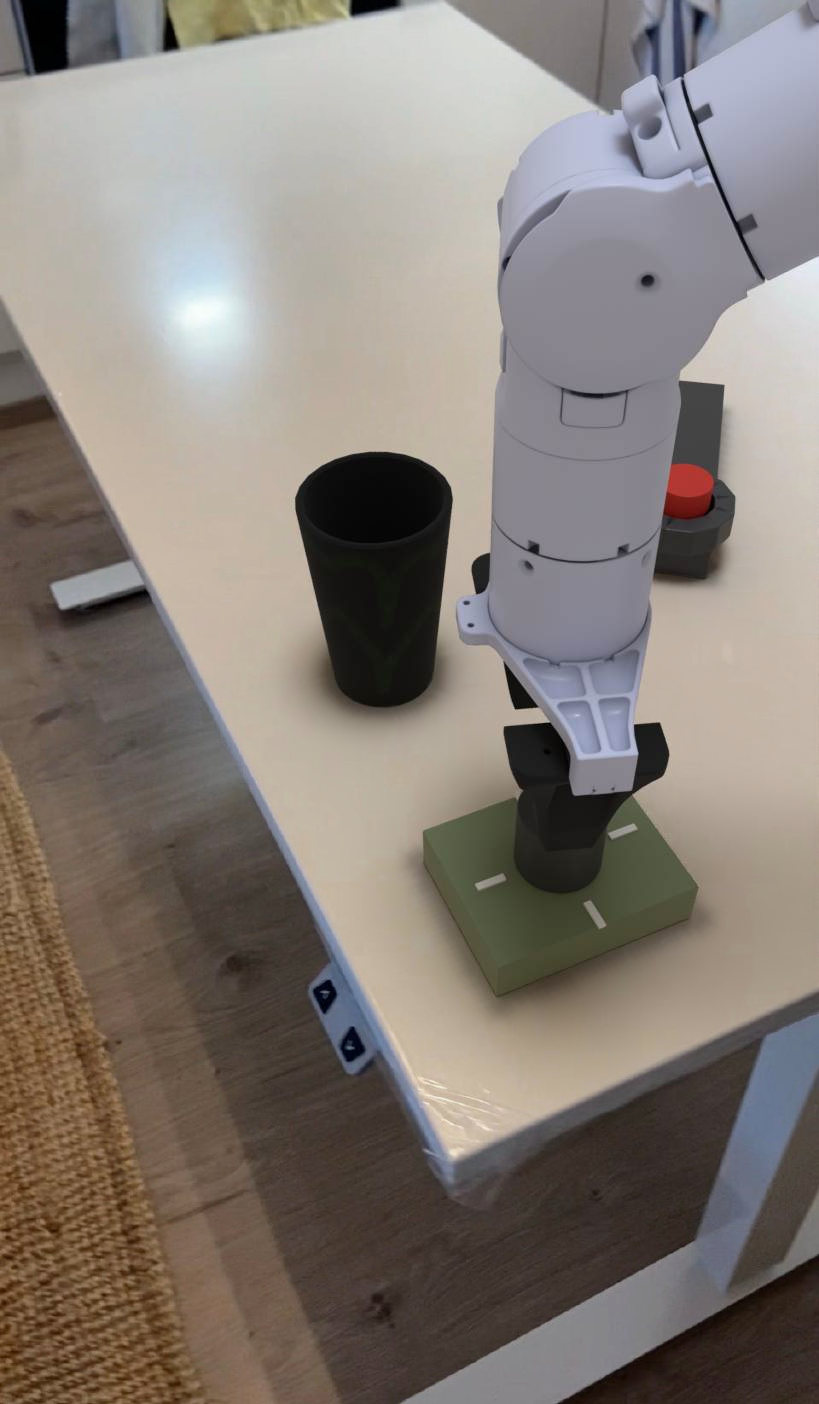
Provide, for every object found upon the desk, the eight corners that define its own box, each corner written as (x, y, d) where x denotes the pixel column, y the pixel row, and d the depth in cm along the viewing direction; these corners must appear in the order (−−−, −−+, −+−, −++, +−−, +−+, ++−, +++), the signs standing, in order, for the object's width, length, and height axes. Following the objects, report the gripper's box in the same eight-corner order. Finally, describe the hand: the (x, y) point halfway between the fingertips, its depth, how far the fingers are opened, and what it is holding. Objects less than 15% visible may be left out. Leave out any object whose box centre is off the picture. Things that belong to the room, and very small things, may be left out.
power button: (656, 485, 72) (659, 460, 70) (710, 490, 71) (715, 466, 70) (651, 517, 69) (655, 493, 68) (707, 523, 69) (712, 499, 68)
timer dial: (496, 847, 55) (498, 794, 52) (564, 809, 56) (570, 755, 53) (550, 908, 52) (555, 856, 50) (620, 866, 54) (629, 813, 51)
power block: (576, 397, 85) (580, 347, 82) (733, 413, 83) (743, 362, 80) (537, 567, 72) (541, 515, 69) (721, 590, 70) (733, 537, 67)
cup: (396, 742, 63) (387, 568, 54) (287, 681, 66) (261, 508, 57) (479, 659, 67) (483, 484, 58) (373, 605, 70) (361, 432, 61)
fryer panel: (603, 792, 60) (608, 758, 58) (692, 919, 55) (701, 886, 53) (422, 860, 58) (421, 826, 56) (497, 999, 52) (499, 967, 50)
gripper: (434, 398, 45) (437, 655, 55) (487, 671, 35) (479, 925, 45) (620, 384, 45) (589, 643, 55) (725, 651, 35) (664, 907, 45)
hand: (551, 768), depth 50 cm, fingers open, 7 cm apart
